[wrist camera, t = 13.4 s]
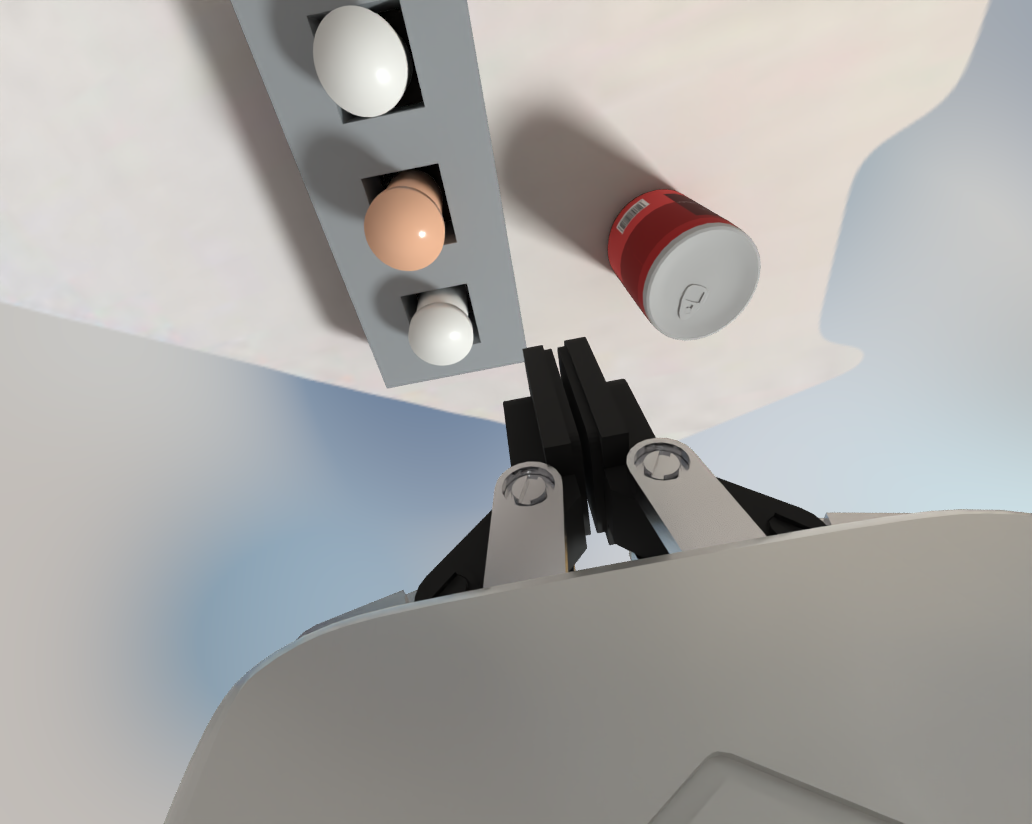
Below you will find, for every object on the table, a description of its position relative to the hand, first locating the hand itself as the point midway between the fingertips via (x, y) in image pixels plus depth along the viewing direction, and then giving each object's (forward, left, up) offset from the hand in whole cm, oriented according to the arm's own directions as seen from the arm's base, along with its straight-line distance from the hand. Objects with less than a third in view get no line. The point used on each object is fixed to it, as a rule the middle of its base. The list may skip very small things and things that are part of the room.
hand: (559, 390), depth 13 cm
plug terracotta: (0, -6, -27) cm, 27 cm away
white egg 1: (-8, -6, -28) cm, 30 cm away
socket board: (0, -6, -29) cm, 30 cm away
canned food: (+7, +12, -29) cm, 32 cm away
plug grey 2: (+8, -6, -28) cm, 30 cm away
